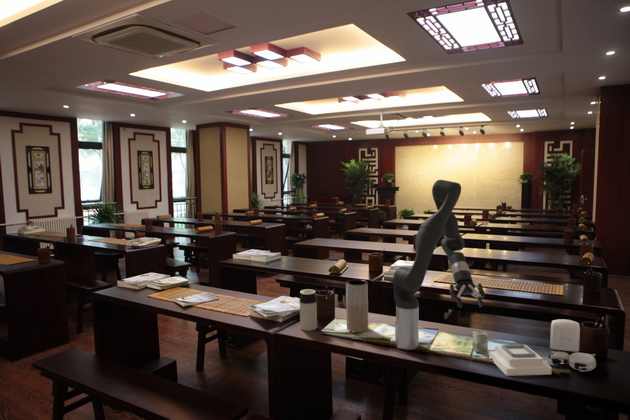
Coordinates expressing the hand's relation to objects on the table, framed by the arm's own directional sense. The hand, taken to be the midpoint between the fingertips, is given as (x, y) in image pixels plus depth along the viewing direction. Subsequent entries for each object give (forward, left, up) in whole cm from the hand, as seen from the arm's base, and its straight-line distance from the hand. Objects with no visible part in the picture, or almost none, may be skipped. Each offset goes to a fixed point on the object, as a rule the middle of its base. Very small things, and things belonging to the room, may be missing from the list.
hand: (471, 306), depth 177 cm
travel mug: (-70, +20, -15) cm, 75 cm away
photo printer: (+34, -11, -15) cm, 39 cm away
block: (0, -10, -15) cm, 18 cm away
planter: (-47, +17, -15) cm, 52 cm away
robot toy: (+28, -25, -16) cm, 40 cm away
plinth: (+9, -23, -15) cm, 29 cm away
